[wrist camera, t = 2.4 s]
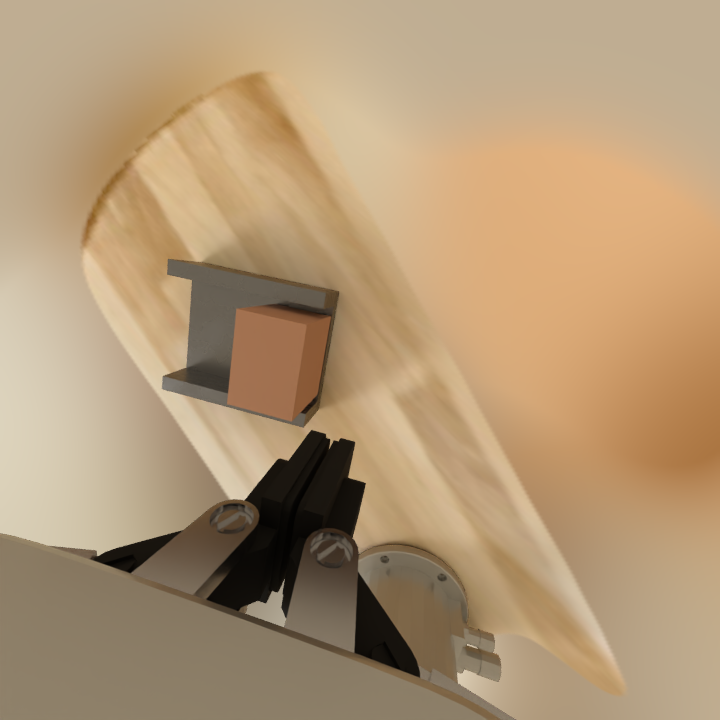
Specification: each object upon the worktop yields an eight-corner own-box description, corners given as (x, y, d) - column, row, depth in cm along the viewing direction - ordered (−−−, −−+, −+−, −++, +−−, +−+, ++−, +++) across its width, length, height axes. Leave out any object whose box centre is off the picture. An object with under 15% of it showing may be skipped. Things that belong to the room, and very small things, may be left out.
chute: (339, 291, 28) (325, 292, 24) (318, 409, 31) (303, 427, 27) (200, 262, 30) (168, 258, 26) (192, 376, 33) (162, 389, 29)
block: (331, 316, 27) (306, 324, 22) (317, 394, 29) (291, 421, 23) (274, 303, 28) (236, 308, 22) (264, 380, 30) (227, 404, 24)
